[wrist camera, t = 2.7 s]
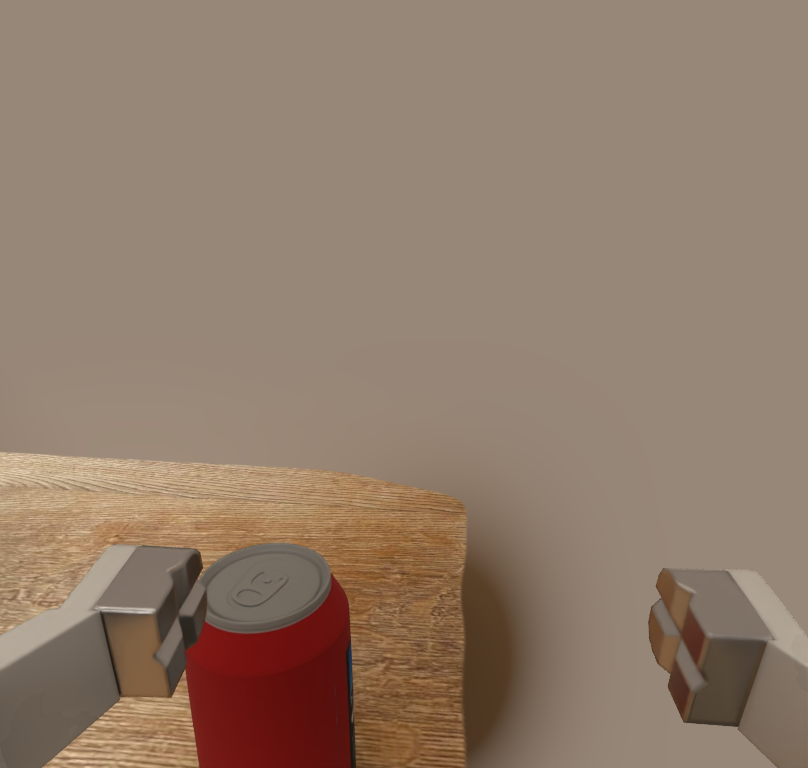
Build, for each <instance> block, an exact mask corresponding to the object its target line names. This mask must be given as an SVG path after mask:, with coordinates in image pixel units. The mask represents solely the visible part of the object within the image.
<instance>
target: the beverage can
mask: <svg viewBox="0 0 808 768" xmlns="http://www.w3.org/2000/svg"><path fill="white" fill-rule="evenodd" d="M199 581H200V582H201V583H202V584H203V585H204V586H205V587H206V592H207V614H206V618H205V623H204V627H203V630H202V633H201V635H200V637H199V639H198V642H197V643H196V644H195V645H193V646H192V647H191V648H189V649H188V650H186V651H185V653H186V660H187V665H186V668H185V669H186V677H187V685H188V692H189V700H190V706H191V713H192V720H193V727H194V733H195V740H196V747H197V754H198V760H199V767H200V768H356V758H355V725H354V697H353V675H352V653H351V635H350V617H349V603H348V599H347V596H346V594H345V592H344V590H343V589H342V587H341V586H340V584H339V583H338V582H337V580H336V579H335V578H334V576H333V575H332V574H331V572H330V568H329V565H328V563H327V562H326V560H325V559H324V558H323V557H322V556H321V555H320V554H318V553H317V552H315V551H314V550H312V549H309V548H307V547H304V546H300V545H296V544H289V543H267V544H260V545H255V546H250V547H246V548H243V549H240V550H237V551H235V552H233V553H230V554H228V555H226V556H224V557H223V558H221V559H219V560H218V561H216V562H215V563H214V564H212V565H211V566H210V567H209V568H208V569H207V570H206V571H205V572H204V573H203V574H202V576H201V577H200V579H199Z"/></svg>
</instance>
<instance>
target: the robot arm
mask: <svg viewBox="0 0 808 768" xmlns="http://www.w3.org/2000/svg"><path fill="white" fill-rule="evenodd" d="M202 569H203V564H202V559H201V554H200V552H199V551H198V550H197V549H191V548H176V547H160V546H144V545H142V546H138V545H121V544H114V545H112V546H110V547H108V548H107V549H106V550H105V551H104V552H103V554H102V555H101V556H100V557H99V559H98V560H97V561H96V562H95V564H94V565H93V566H92V567H91V569H90V570H89V571H88V572H87V574H86V575H85V576H84V577H83V579H82V580H81V581H80V582H79V584H78V585H77V586H76V587H75V589H74V590H73V591H72V592H71V594H70V595H69V596H68V597H67V599H66V600H65V601H64V602H63V604H62V605H61V606H60V607H59V609H48V610H46V611H44V612H42V613H40V614H39V615H37V616H35V617H33V618H31V619H29V620H28V621H26V622H24V623H22V624H20V625H18V626H16V627H15V628H13V629H11V630H9V631H7V632H5V633H4V634H2V635H0V768H42V767H43V766H44V765H46V764H47V763H48V762H49V761H50V760H51V759H52V758H54V757H55V756H56V755H57V754H58V753H59V752H60V751H62V750H63V749H64V748H65V747H66V746H67V745H68V744H70V743H71V742H72V741H73V740H74V739H75V738H77V737H78V736H79V735H80V734H81V733H82V732H83V731H85V730H86V729H87V728H88V727H89V726H90V725H91V724H93V723H94V722H95V721H96V720H97V719H98V718H99V717H101V716H102V715H103V714H104V713H105V712H106V711H108V710H109V709H110V708H111V707H112V706H113V705H114V704H116V703H117V702H118V701H119V700H120V697H166V698H171V697H172V695H173V693H174V691H175V689H176V687H177V685H178V682H179V680H180V678H181V676H182V674H183V672H184V670H185V668H186V665H187V660H186V653H185V651H186V650H188V649H189V648H191V647H192V646H193V645H195V644H196V643H197V642H198V639H199V637H200V635H201V633H202V630H203V627H204V623H205V618H206V614H207V592H206V587H205V586H204V585H203V584H202V583H201V582H200V581H199V580H198V579H197V578H198V576H199V574H200V572H201V571H202ZM656 587H657V590H658V592H659V594H660V595H661V599H659V601H657V602H656V603H655V604H654V605H653V606H652V607H651V611H650V617H649V622H648V623H649V639H650V643H651V647H652V651H653V654H654V656H655V658H656V661H657V663H658V664H659V665H660V666H661V667H662V668H664V669H665V670H666V671H667V672H668V673H670V674H671V675H670V679H669V683H668V688H669V691H670V692H671V695H672V697H673V700H674V702H675V704H676V706H677V709H678V711H679V713H680V715H681V718H682V720H683V722H684V723H696V724H709V725H722V726H735V727H738V730H739V731H740V732H741V733H742V734H743V735H744V736H745V737H746V738H747V739H748V740H749V741H750V742H751V743H753V744H754V745H755V746H756V747H757V748H758V749H759V750H760V751H761V752H762V753H763V754H764V755H765V756H766V757H767V758H768V759H769V760H770V761H771V762H772V763H773V764H774V765H775V766H777V768H808V636H807V635H806V634H805V632H804V631H803V630H802V629H801V627H800V626H799V625H798V623H797V622H796V621H795V619H794V618H793V617H792V616H791V614H790V613H789V612H788V610H787V609H786V608H785V606H784V605H783V604H782V603H781V601H780V600H779V599H778V597H777V596H776V595H775V594H774V592H773V591H772V590H771V588H770V587H769V586H768V584H767V583H766V582H765V581H764V580H763V578H762V577H761V575H760V574H758V573H757V572H755V571H753V570H734V569H732V570H731V569H730V570H729V569H723V570H704V569H675V568H663V569H662V571H661V572H660V574H659V576H658V580H657V584H656Z"/></svg>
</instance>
